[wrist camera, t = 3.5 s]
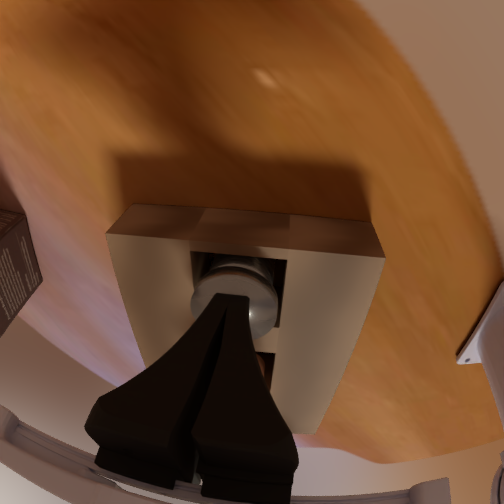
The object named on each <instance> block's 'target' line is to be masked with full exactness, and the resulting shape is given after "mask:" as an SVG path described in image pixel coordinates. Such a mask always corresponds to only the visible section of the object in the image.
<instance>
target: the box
mask: <svg viewBox="0 0 504 504" xmlns="http://www.w3.org/2000/svg"><path fill="white" fill-rule="evenodd" d="M42 282H43V280H42V277H41V274H40V271H39V268H38V264H37V261H36V258H35V254H34V250H33V246H32V243H31V239H30V234H29V231H28V226H27V221H26V216H25V215H21V214H17V213H13V212H8V211H3V210H0V337H1V336H2V335H3V334H4V332H5V331H6V329H7V328H8V326H9V325H10V323H11V322H12V321H13V319H14V318H15V316H16V315H17V314H18V313H19V311H20V310H21V309H22V307H23V306H24V305H25V303H26V302H27V301H28V299H29V298H30V297H31V295H32V294H33V293H34V292H35V290H36V289H37V288H38V287H39V285H40V284H41V283H42Z"/></svg>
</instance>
